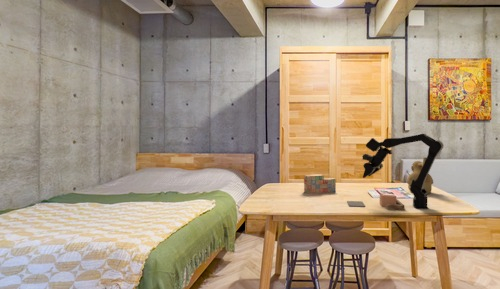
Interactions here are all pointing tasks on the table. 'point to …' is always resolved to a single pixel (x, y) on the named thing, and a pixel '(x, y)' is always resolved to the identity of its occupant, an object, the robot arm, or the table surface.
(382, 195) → the terracotta blank
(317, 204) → the table surface
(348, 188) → the table surface
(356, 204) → the charcoal mat
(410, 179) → the ceramic vessel
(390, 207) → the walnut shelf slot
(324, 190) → the stack of blocks
